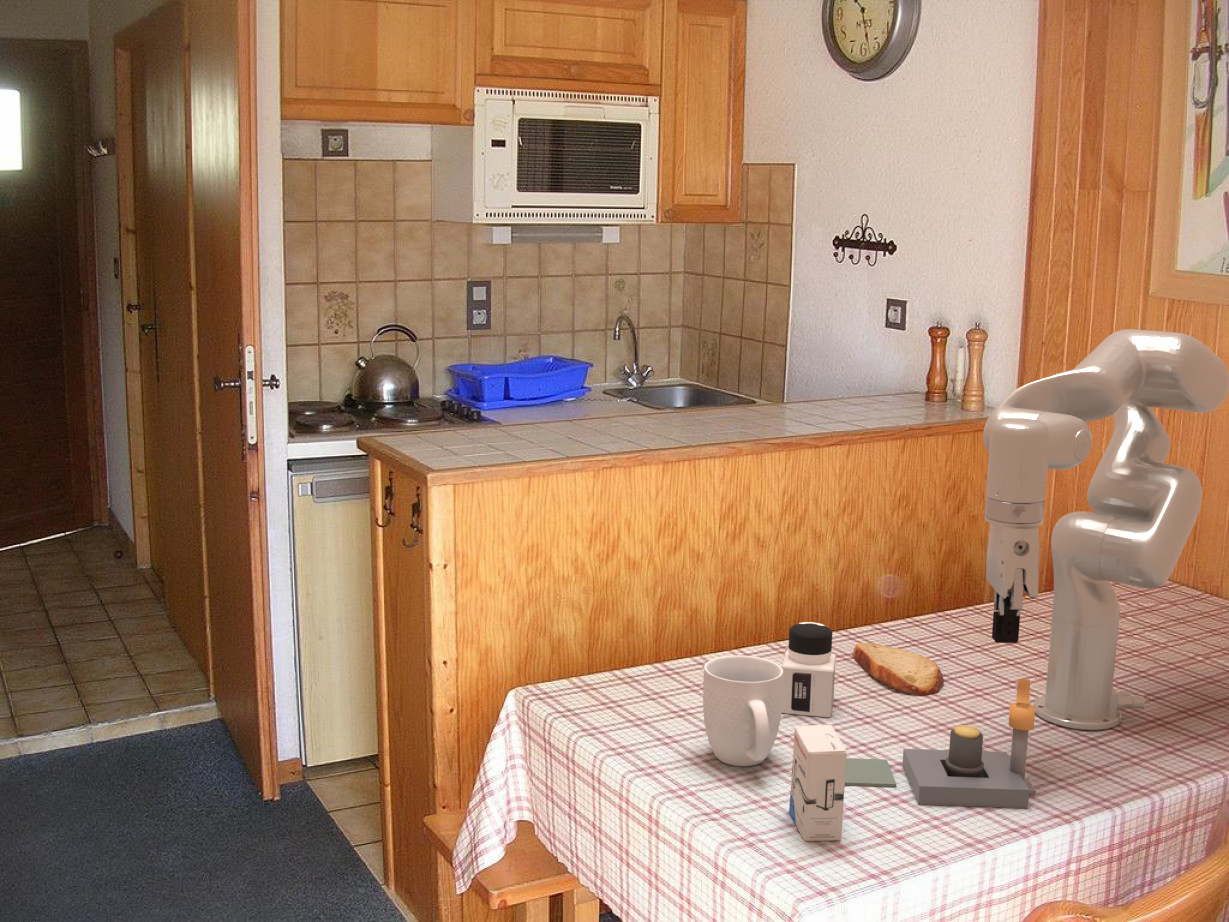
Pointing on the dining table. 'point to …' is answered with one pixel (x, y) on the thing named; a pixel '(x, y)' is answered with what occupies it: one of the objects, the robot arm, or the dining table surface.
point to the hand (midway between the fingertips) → (1004, 640)
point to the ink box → (818, 782)
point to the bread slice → (899, 669)
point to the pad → (868, 773)
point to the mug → (742, 707)
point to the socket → (971, 778)
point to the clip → (1022, 708)
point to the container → (809, 671)
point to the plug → (965, 752)
